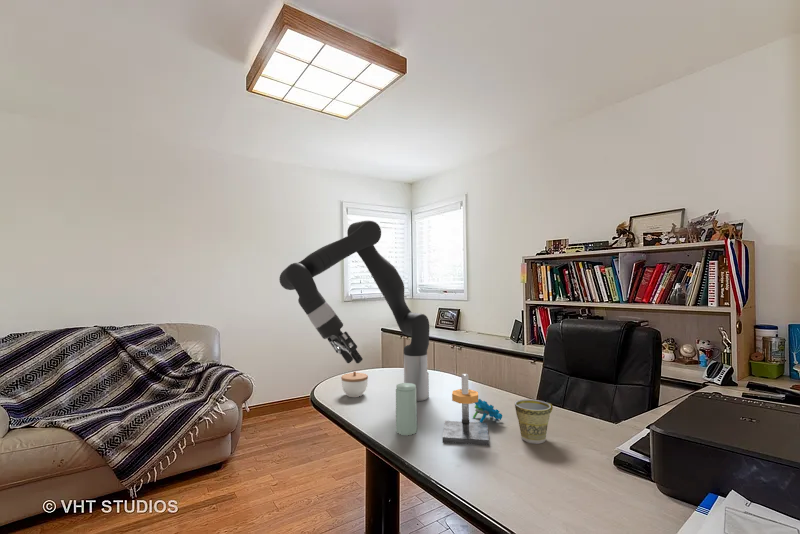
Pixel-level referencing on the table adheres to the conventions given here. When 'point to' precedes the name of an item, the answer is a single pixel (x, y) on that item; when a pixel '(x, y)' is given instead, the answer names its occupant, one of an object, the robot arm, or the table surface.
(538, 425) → the ceramic cup
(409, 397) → the pale green canister
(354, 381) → the lidded jar
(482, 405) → the blue toy dinosaur
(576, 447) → the table surface
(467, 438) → the post stand
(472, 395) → the collar
